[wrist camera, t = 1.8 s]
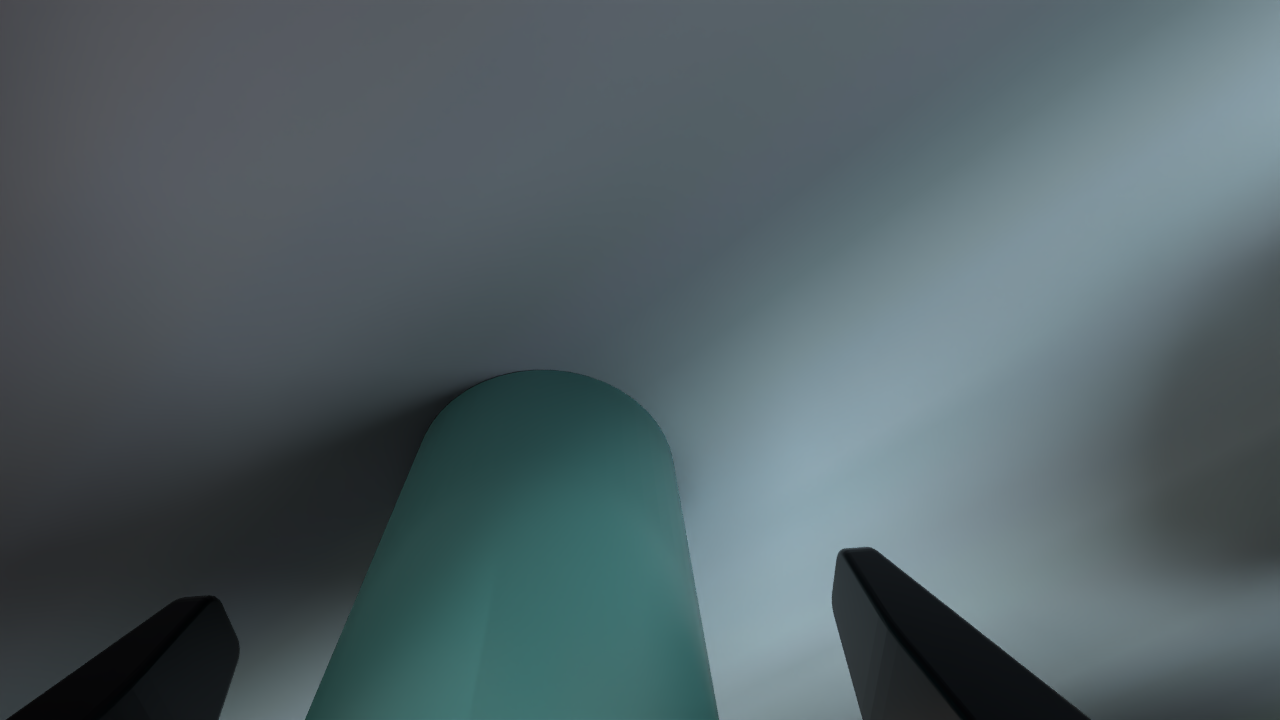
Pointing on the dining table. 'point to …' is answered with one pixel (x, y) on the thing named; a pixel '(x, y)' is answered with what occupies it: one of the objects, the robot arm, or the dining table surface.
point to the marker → (529, 570)
